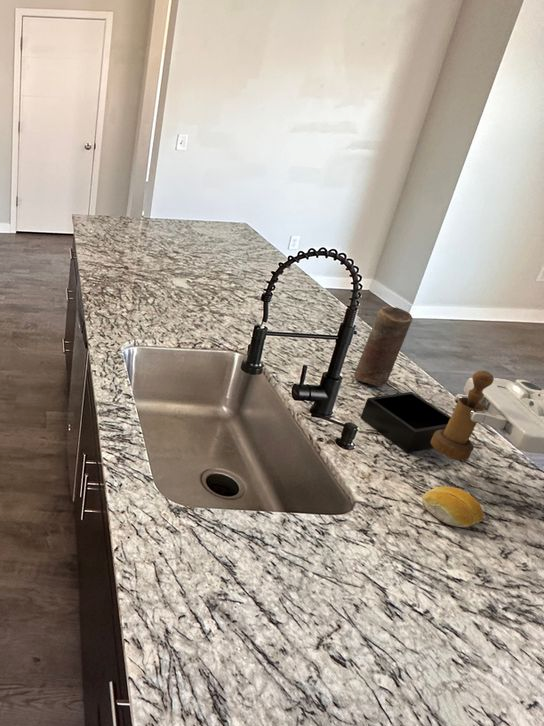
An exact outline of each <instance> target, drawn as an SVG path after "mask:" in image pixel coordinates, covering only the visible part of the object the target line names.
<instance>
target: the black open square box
mask: <svg viewBox="0 0 544 726" xmlns="http://www.w3.org/2000/svg"><path fill="white" fill-rule="evenodd" d="M450 418H451V415H449V414H448V413H446V412H444V411H443V410H441V409H439V408H438V407H436V406H435V405H433V404H432V403H430V402H429V401H427V400H426V399H424V398H422V397H421V396H419V395H417V394H416V393H414V392H413V391H407V392H400V393H393V394H386V395H379V396H372V397H367V398H366V402H365V404H364V407H363V410H362V412H361V415H360V419H361V420H362V421H363V422H365V423H366V424H367V425H369V426H370V427H371V428H373V429H374V430H375V431H377V432H378V433H379V434H380V435H382V436H383V437H385V438H386V439H387V440H388V441H390V442H392V443H393V444H394V445H395V446H396V447H398V448H399V449H401V450H402V451H403V452H404V453H406V454H409V453H411V454H412V453H415V452H421V451H428V450H432V449H433V450H434V448H433V447H432V445H431V439H432V437H433V435H434V433H435V432H436V431H438V430H444V429H445V428H446V426H447V424H448V422H449V420H450Z"/></svg>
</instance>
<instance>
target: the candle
mask: <svg viewBox="0 0 544 726" xmlns="http://www.w3.org/2000/svg"><path fill="white" fill-rule="evenodd" d="M412 322H413V316H412V314H411V313H410V312H408V311H406V310H404V309H402V308H399V307H394V306H383V307H381V308H379V310H378V312H377V315H376V317H375V319H374V322H373V326H372V328H371V329H370V332H369V335H368V338H367V341H366V344H365V346H364V348H363V351H362V353H361V355H360V358H359V361H358V363H357V365H356V368H355V371H354V374H353V376H354V377H355V379H356V380H357V381H359V382H362V383H365V384H367V385H369V386H373V387H381V386H385V385H386V384H388V381H389V379H390V376H391V373H392V371H393V370H394V366H395V363H396V361H397V358H398V356H399V354H400V351H401V348H402V346H403V344H404V341H405V339H406V337H407V334H408V331H409V329H410V327H411V324H412Z"/></svg>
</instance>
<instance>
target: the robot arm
mask: <svg viewBox="0 0 544 726" xmlns="http://www.w3.org/2000/svg"><path fill="white" fill-rule="evenodd" d="M472 377H473V376H471V377H469V378H468V379H467V381H466V383H465V385H464V387H463V393H464V394H461V393H458V394H456V395H455V396H454V399H453V400H454V402H455V403H456V404H457V403H458V400H459V398H462V397H465V398H468V393H469V390H472V389H473V388H474V384H473V380H472ZM482 393H483V394H484V396H483V398H482V399H481V400H480V401H479V402H480V403H481V404H483V405H484V407H485V408H484V410H483V412H482V411H481V410H471V411H470V414H469V415H468V416H469V418H470V419H471V420H472V421H473V422H477V423H480V424H483V425H486V426H488V427H490V428H493V429H496V430H499V431H500V432H501V433H502V434H503V436H505V438H506V439H508V441H510V443H511V444H512V445H513V446H514V447H515V448H516V449H517V450H520V451H523V452H525V453H528V454H540V455H544V389H543V388H541V387H539V386H537V385H536V384H533V383H532V382H530V381H528V380H526V379H516V380H515V381H512V380H507V379H504V378H497V377H493V383H492V384H491V385H490V386H488V387H486V388H485V389H484V390H483V391H482Z"/></svg>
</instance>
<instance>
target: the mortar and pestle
mask: <svg viewBox="0 0 544 726" xmlns="http://www.w3.org/2000/svg"><path fill="white" fill-rule="evenodd" d="M471 377H472V380H473V384H474V388H473V389H472V390H469V393H468V398H465V397H462V398H459V400H458V403H456V405H455V408H454V409H453V412H452V414H451V415H450V417H451V418H450V420H449V422H448V424H447V426H446V428H445V429H444V430H438V431H436V432H435V433H434V435H433V437H432V439H431V445H432V447H433V450H435V451H436V452H438V454H441V455H443V456H445V457H447V458H450V459H453V460H457V461H466V460H468V459H470V457H471V455H472V452H473V451H474V444H473V442H472V441H471V439H470V438H471V435H472V433H473V431H474V429H475V427H476V426H477V424H478V422H473V421H472V420H471V419H470V418H469V416H468V415H469V414H470V411H471V410H481V411H482V412H483V410H484V408H485V407H484V405H483V404H481V403H480V402H479V401H480V400H481V399H482V398H483V396H484V394H483V393H482V391H483V390H484V389H485V388H486V387H488V386H490V385H491V384H492V383H493V378H494V376H493V374H492V373H491V372H489V371H487V370H477V371H476V372H474V373H473V374H472V376H471Z"/></svg>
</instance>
